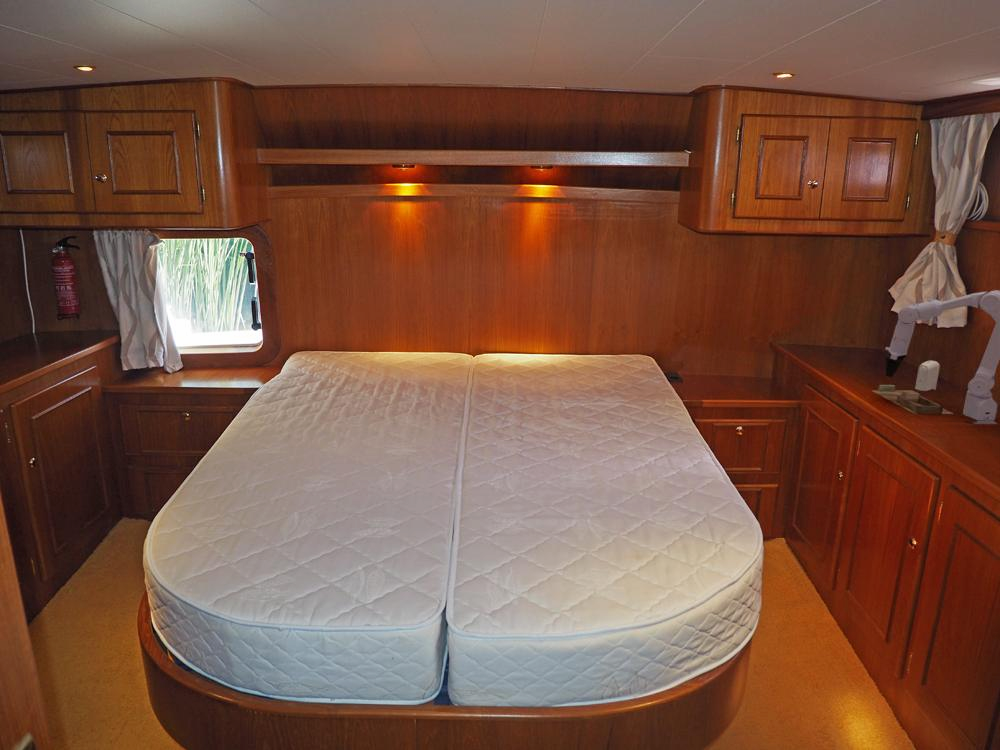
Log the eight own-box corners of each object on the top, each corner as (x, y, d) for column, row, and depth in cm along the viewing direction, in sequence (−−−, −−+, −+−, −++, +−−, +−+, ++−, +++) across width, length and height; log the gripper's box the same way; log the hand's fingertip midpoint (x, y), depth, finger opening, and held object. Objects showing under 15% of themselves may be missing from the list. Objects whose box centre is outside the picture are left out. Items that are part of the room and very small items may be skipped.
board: (953, 417, 246) (955, 407, 245) (913, 417, 246) (915, 407, 245) (906, 394, 273) (907, 385, 272) (870, 394, 273) (871, 384, 272)
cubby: (941, 413, 246) (943, 406, 245) (917, 413, 246) (919, 406, 245) (919, 402, 258) (920, 395, 258) (896, 402, 258) (897, 395, 257)
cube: (917, 404, 256) (919, 393, 255) (906, 404, 256) (908, 393, 255) (910, 401, 260) (912, 390, 259) (900, 401, 260) (902, 390, 259)
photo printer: (924, 395, 272) (929, 364, 269) (912, 392, 276) (918, 361, 273) (937, 391, 278) (942, 360, 275) (925, 388, 282) (931, 358, 278)
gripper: (892, 332, 264) (882, 366, 268) (885, 339, 252) (875, 375, 257) (913, 337, 260) (902, 372, 264) (907, 344, 249) (896, 380, 253)
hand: (890, 374), depth 260 cm, fingers open, 7 cm apart
